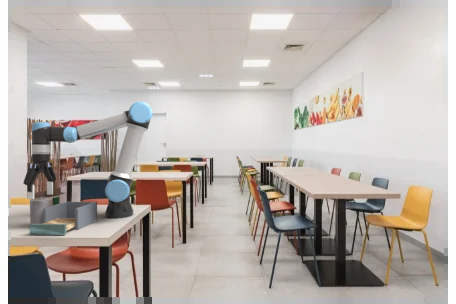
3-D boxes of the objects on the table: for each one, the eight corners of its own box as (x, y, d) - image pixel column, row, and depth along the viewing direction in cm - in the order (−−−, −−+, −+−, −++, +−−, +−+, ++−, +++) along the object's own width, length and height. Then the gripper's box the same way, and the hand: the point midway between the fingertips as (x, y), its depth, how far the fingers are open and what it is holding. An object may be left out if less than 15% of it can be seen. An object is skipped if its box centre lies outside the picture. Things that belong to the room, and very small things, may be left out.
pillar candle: (44, 223, 154) (43, 194, 153) (58, 224, 150) (57, 194, 150) (25, 227, 144) (24, 197, 144) (39, 229, 141) (38, 198, 141)
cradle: (66, 220, 159) (66, 201, 159) (97, 220, 158) (96, 201, 158) (43, 229, 141) (43, 208, 141) (78, 229, 140) (77, 208, 140)
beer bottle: (42, 216, 168) (41, 174, 168) (46, 213, 175) (46, 173, 175) (57, 215, 170) (57, 173, 170) (61, 213, 178) (61, 172, 177)
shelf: (55, 224, 149) (55, 215, 149) (86, 224, 148) (86, 215, 148) (29, 234, 131) (29, 224, 131) (64, 234, 130) (64, 224, 130)
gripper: (50, 153, 159) (50, 192, 160) (14, 153, 135) (13, 200, 135) (63, 153, 159) (63, 193, 159) (29, 153, 134) (29, 200, 134)
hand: (40, 196), depth 147 cm, fingers open, 13 cm apart
